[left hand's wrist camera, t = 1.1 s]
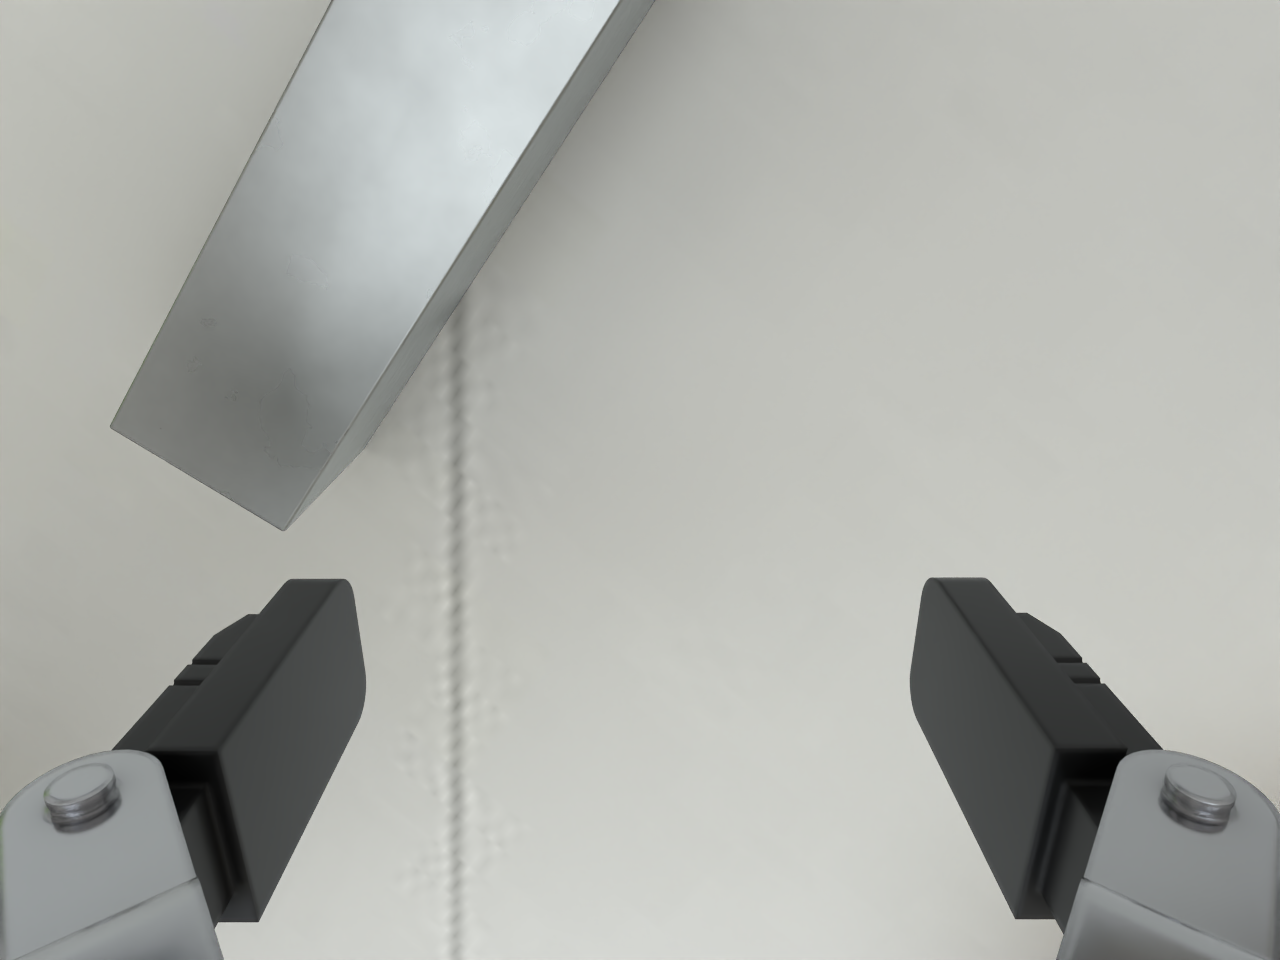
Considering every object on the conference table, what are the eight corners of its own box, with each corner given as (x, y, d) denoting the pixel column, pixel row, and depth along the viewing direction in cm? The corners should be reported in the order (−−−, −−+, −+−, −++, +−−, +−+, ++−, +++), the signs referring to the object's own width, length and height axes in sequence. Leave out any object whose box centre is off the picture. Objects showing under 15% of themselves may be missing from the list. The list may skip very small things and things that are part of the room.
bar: (578, -253, 25) (551, -427, 17) (730, -115, 26) (764, -223, 19) (230, 365, 32) (107, 427, 25) (363, 450, 33) (283, 533, 26)
